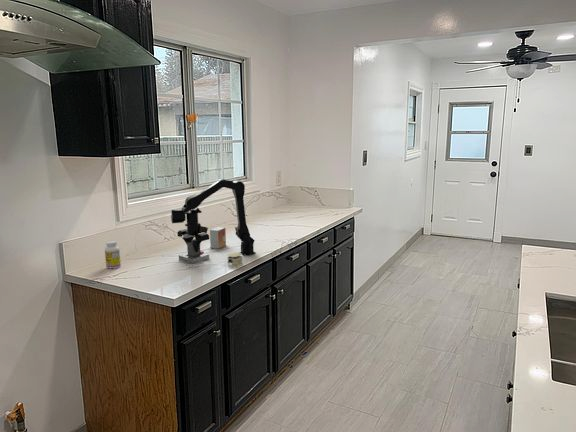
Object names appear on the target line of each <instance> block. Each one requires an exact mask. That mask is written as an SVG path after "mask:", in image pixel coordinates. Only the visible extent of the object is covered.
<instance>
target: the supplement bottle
mask: <svg viewBox="0 0 576 432" xmlns="http://www.w3.org/2000/svg"><path fill="white" fill-rule="evenodd" d="M105 243H106V244H105V245H106V247H105V248H104V254H105V255H104V258H105V267H106V269H108V268H110V269H109V270H112V269H111V268H116V269H118V267H119V268H120V267H121V265H122V263H121V252H120V250H121V249H120V247H119V246H118V245H117V244H118V243H117V241H116V240H109V241H107V242H105Z"/></svg>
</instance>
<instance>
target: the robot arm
mask: <svg viewBox="0 0 576 432" xmlns="http://www.w3.org/2000/svg"><path fill="white" fill-rule="evenodd" d="M223 188H227V189H229V190H230V189H231V191H232V194H233V196H234V199H235V209H236V216H237V226H235V227H234V231H235V235H236V237H237V238H238V239H239V240H240V252H239V253H241V254H242V255H243V256H252V255H253V254H256V253H257V252H255V251H254V243H255V239H254V238H253V237H251V234H250V230H249V227H248V225H247V220H246V219H247V218H246V211H245V201H244V197H245V190H246V185H245V183H244V182H243V181H240V180H238V179H237V180H227V179H224V178H219V179H218V180H216V181H215V182H214V183H213V184H210V185H209V186H207V187H206V188H204V189H203V190H202V191H200V192H198V193H196V194H192V195H190V196H188V197H186V198H185V201H184V204H183V205H182V207H181V209H171V210H170V211H171V215H170V219H171V220H170V221H171V224H183V223H184V222H185V221H186V223H184V224H185V225H184V226H185V227H186V228H184V229H180V230H178V231H177V237H181V239H183V241H184V243H186V245H187V242H190V241H192V242H193V245H194V248H195V251H196V252H198V250H199V246H200V247H201V244H202V242H205V241H207V240H209V241H210V234H208V229H209V227H207V226H202V224H201V223H200V222H199V214H201V213H203V212H202V210H201V209H200V208H199V206H200V205H201V204H202V203H203V202H204V201H205V200H206V199H207V198H210V197H211V196H212V195H213V194H216V193H217V192H218V191H220V190H221V189H223ZM192 239H195V240H192Z"/></svg>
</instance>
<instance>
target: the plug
mask: <svg viewBox="0 0 576 432" xmlns="http://www.w3.org/2000/svg"><path fill="white" fill-rule="evenodd" d="M192 240H195V238H193V239H192ZM186 246H187V249H186V250H187V253H188V256H191V257H194V256H198V255H200V251H201V245H200V246H199V250H198V252H196V251H195V248H194V245H193V242H192V241H190V242H187V244H186Z"/></svg>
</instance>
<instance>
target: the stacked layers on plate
mask: <svg viewBox="0 0 576 432" xmlns="http://www.w3.org/2000/svg"><path fill="white" fill-rule="evenodd" d="M242 255H243V254H241V253H240V252H234V253H229V254H228V253H227V255H226V256H227V257H226V259H227V262H226V263H227V264H231V265H232V267H236V268H237V267H238V266H241V265H243V262H244V260H243V256H244V255H243V256H242Z"/></svg>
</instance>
